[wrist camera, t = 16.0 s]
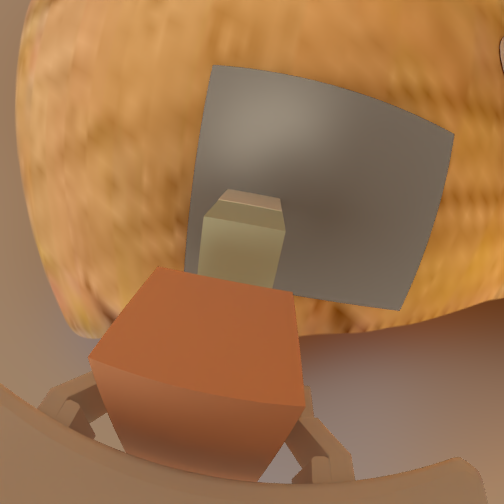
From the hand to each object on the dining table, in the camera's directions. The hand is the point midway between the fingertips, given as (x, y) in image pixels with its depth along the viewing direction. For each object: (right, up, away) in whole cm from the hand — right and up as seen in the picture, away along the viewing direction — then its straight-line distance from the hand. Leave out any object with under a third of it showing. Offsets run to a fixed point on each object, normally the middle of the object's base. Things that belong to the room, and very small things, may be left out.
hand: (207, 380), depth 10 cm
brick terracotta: (0, 0, +1) cm, 1 cm away
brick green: (+1, +5, +12) cm, 14 cm away
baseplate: (+9, +11, +16) cm, 21 cm away
